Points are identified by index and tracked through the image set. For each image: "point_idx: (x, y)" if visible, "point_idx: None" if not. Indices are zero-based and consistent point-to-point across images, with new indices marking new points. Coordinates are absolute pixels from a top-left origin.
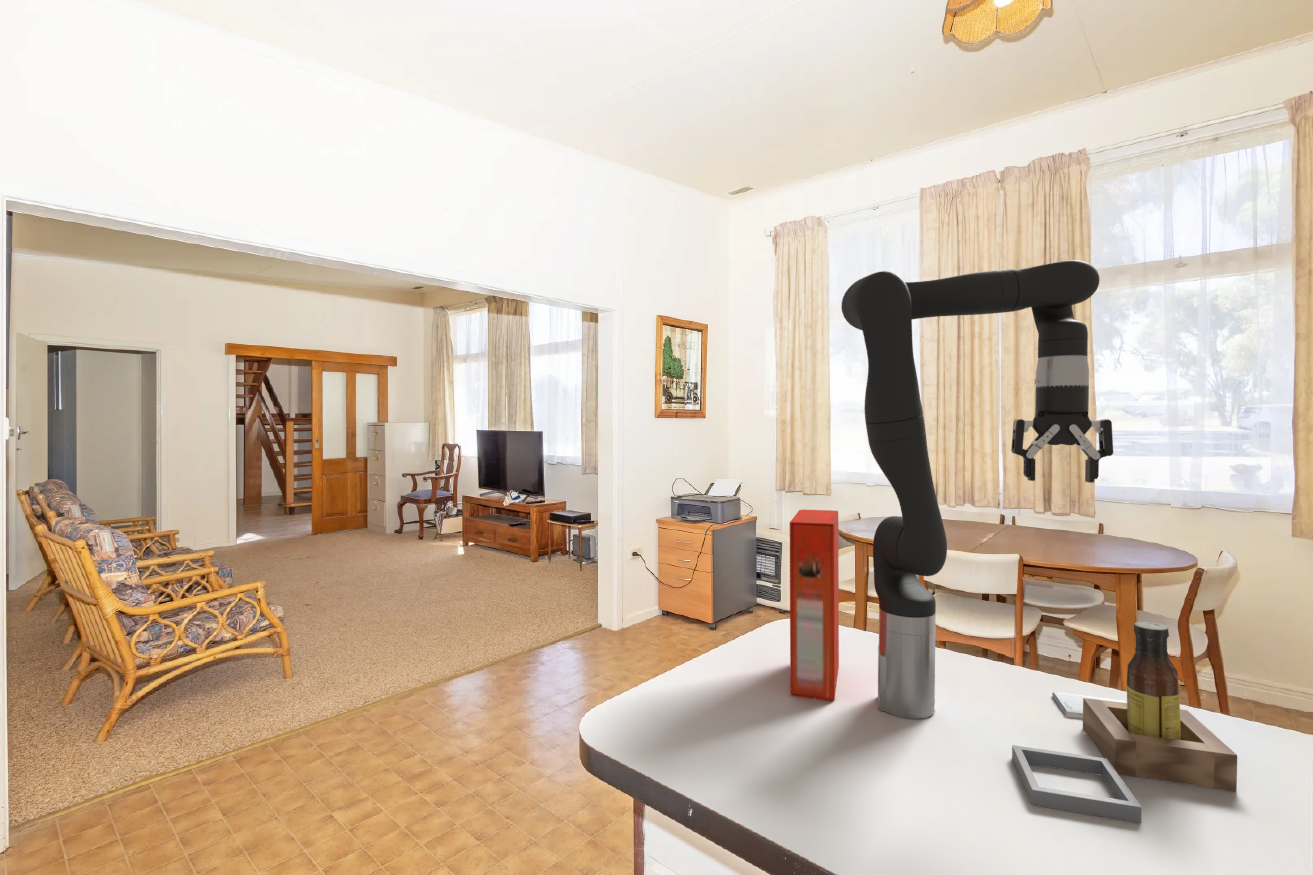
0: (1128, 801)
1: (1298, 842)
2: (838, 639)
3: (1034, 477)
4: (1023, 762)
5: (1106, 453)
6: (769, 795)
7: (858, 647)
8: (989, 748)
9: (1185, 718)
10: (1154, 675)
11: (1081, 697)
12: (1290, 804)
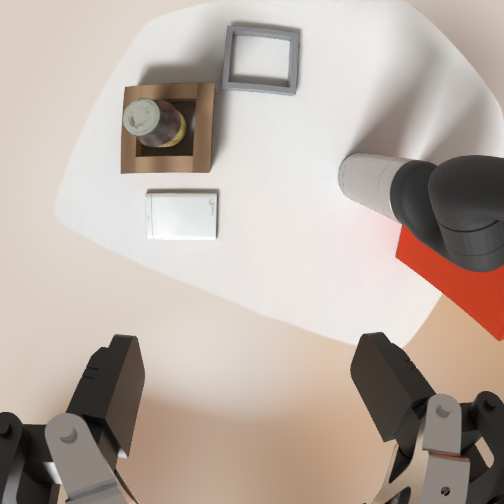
0: (233, 30)
1: (134, 41)
2: (410, 262)
3: (372, 338)
4: (294, 67)
5: (16, 429)
6: (435, 50)
7: (367, 307)
8: (307, 109)
9: (130, 151)
10: (160, 100)
11: (192, 232)
12: (108, 89)
